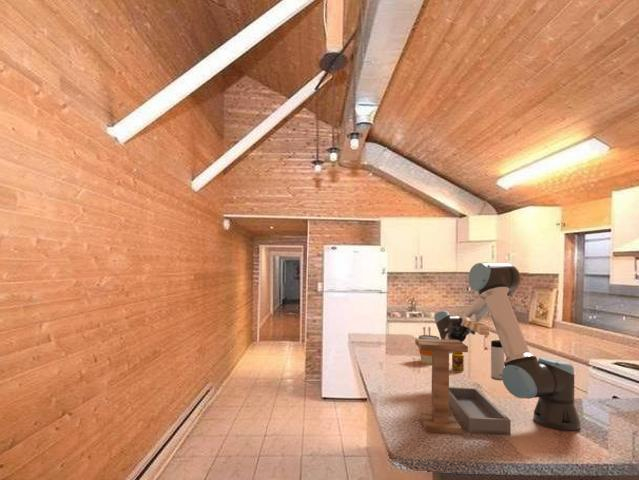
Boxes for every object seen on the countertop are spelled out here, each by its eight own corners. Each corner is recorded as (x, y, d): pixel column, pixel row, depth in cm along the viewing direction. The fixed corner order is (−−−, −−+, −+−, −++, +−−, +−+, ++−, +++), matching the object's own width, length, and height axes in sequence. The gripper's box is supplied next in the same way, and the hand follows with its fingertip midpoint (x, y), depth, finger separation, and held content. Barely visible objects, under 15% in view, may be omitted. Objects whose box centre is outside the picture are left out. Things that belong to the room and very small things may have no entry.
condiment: (457, 372, 214) (457, 350, 215) (446, 368, 222) (446, 347, 223) (467, 371, 217) (467, 349, 218) (456, 367, 225) (456, 346, 226)
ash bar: (459, 323, 169) (459, 316, 169) (466, 323, 169) (467, 316, 169) (480, 334, 143) (480, 326, 143) (489, 335, 143) (489, 326, 143)
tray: (443, 398, 172) (444, 386, 172) (476, 400, 171) (476, 388, 171) (469, 432, 137) (469, 418, 137) (510, 434, 136) (510, 420, 137)
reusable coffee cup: (442, 361, 238) (442, 336, 239) (436, 366, 228) (436, 339, 229) (421, 358, 245) (422, 334, 246) (415, 362, 235) (415, 337, 236)
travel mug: (504, 381, 200) (504, 341, 201) (490, 379, 204) (490, 340, 205) (505, 378, 205) (505, 339, 207) (492, 376, 209) (492, 338, 210)
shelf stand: (414, 418, 149) (415, 338, 150) (457, 420, 148) (457, 339, 149) (420, 432, 137) (421, 344, 138) (467, 434, 136) (467, 346, 137)
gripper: (475, 345, 178) (491, 326, 158) (438, 343, 179) (451, 324, 159) (472, 329, 182) (488, 308, 162) (437, 327, 183) (448, 307, 163)
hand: (469, 316), depth 161 cm, fingers closed on ash bar, 3 cm apart
